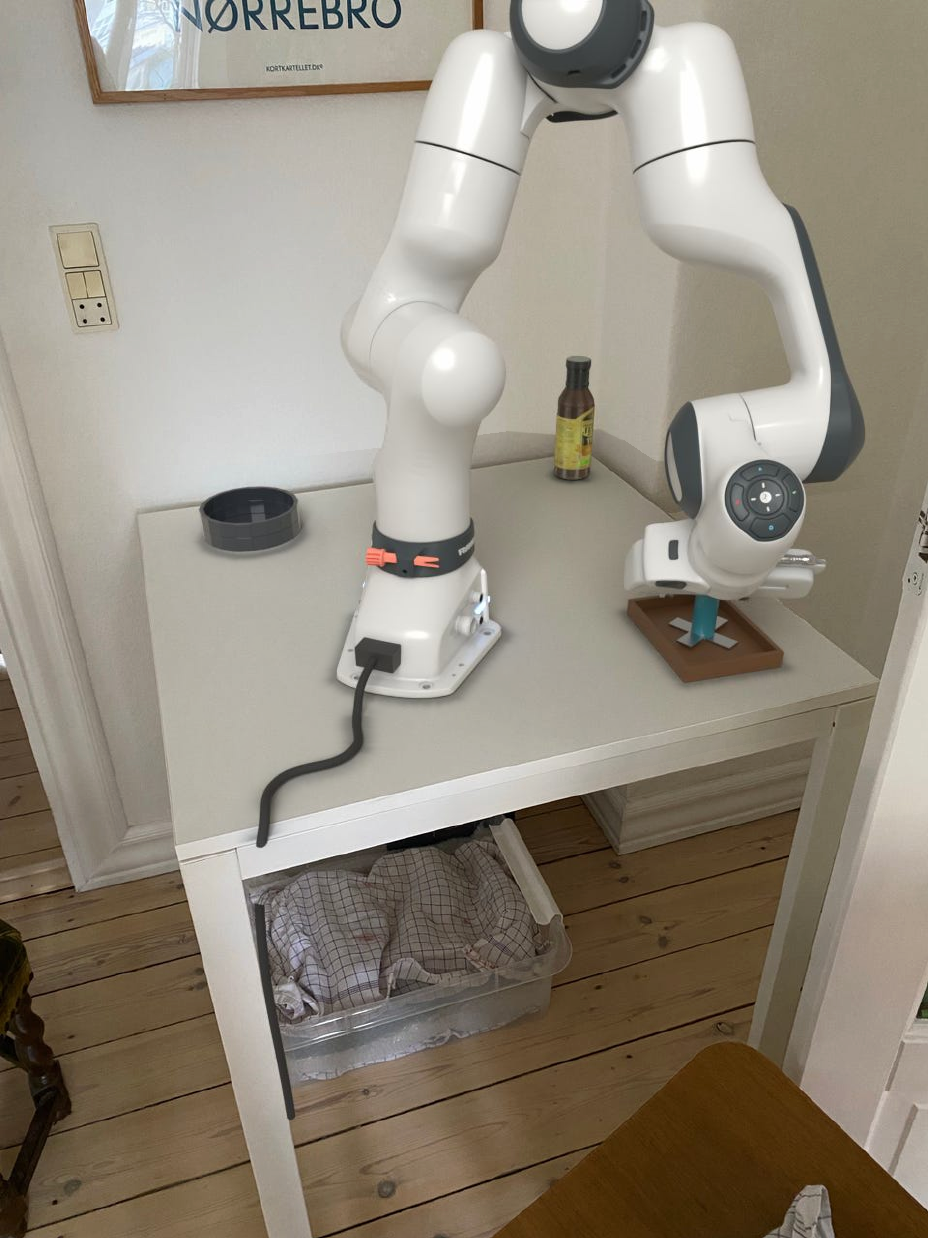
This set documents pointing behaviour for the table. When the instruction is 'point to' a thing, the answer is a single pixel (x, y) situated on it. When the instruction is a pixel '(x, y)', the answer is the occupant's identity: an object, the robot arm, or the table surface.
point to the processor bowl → (250, 518)
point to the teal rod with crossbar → (703, 624)
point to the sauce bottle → (575, 422)
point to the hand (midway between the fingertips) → (705, 593)
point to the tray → (704, 656)
